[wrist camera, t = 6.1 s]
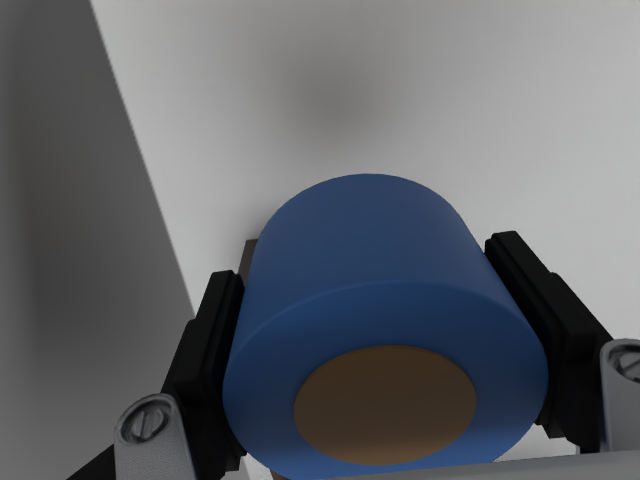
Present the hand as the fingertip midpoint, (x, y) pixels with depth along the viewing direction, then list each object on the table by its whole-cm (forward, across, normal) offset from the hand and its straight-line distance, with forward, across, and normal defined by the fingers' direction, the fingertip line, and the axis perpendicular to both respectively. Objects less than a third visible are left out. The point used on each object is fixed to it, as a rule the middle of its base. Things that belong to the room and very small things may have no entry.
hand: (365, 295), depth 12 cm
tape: (+1, 0, 0) cm, 1 cm away
